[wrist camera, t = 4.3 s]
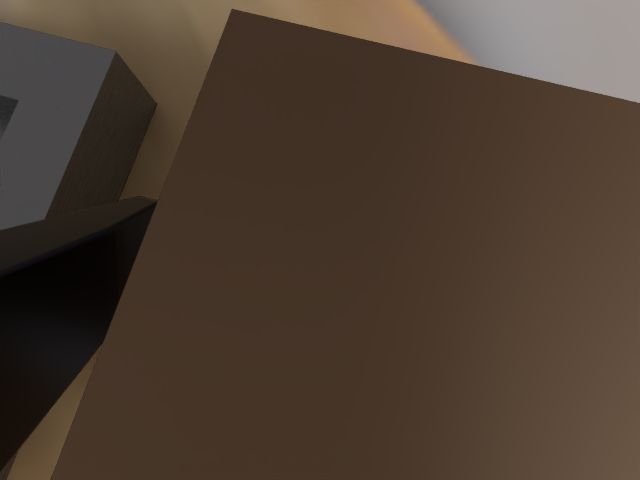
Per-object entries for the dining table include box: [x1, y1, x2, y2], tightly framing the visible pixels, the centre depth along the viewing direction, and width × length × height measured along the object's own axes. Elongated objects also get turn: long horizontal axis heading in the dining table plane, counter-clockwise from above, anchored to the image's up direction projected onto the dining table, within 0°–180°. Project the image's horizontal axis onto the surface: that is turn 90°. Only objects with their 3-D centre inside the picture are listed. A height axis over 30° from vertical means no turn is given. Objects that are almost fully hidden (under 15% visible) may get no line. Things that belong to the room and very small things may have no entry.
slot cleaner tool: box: [51, 9, 640, 480], centre depth 9 cm, size 6×4×14 cm, turn 163°
